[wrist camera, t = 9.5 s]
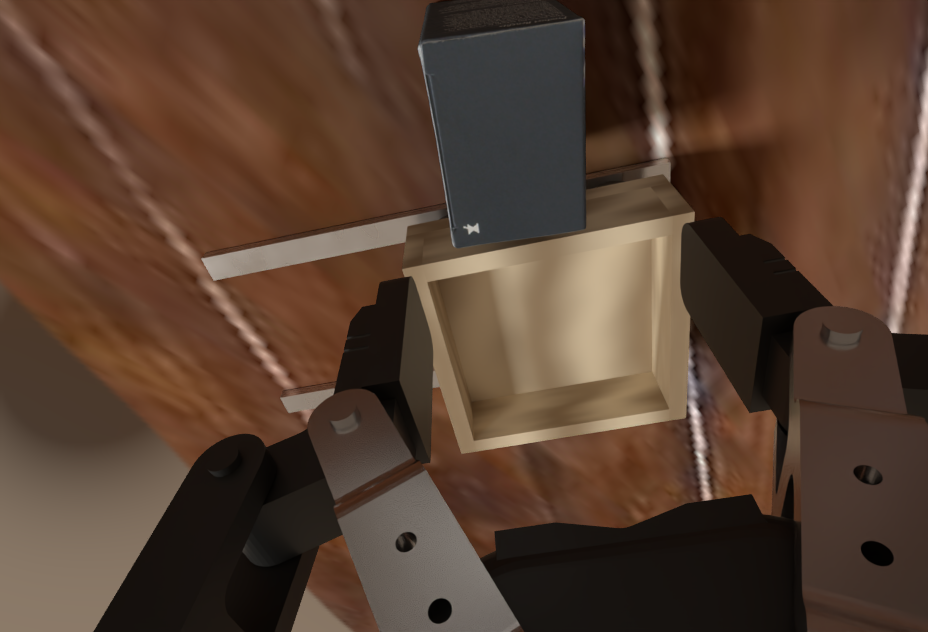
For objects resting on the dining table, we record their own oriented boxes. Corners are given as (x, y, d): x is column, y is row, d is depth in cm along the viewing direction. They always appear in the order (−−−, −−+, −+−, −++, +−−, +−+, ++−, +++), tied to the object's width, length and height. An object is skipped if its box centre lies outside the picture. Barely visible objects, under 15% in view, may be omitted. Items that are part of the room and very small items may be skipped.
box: (548, 146, 31) (588, 234, 22) (447, 159, 31) (448, 253, 22) (541, -17, 26) (589, 15, 17) (423, 1, 26) (413, 42, 18)
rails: (666, 157, 31) (670, 162, 31) (664, 340, 39) (667, 347, 38) (205, 253, 34) (201, 258, 33) (290, 406, 42) (288, 412, 41)
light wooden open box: (654, 163, 30) (694, 211, 25) (655, 353, 39) (685, 417, 34) (408, 214, 32) (402, 269, 27) (459, 387, 40) (461, 453, 35)
